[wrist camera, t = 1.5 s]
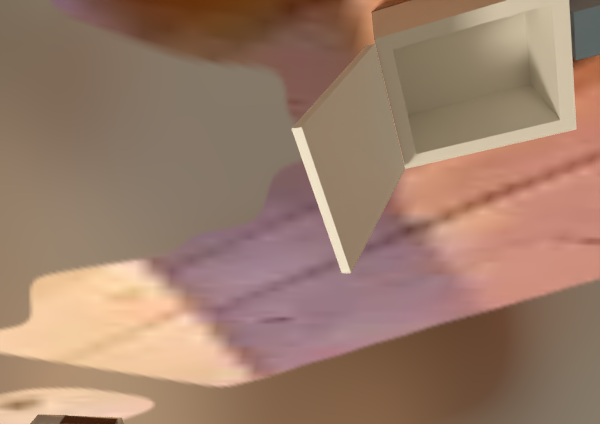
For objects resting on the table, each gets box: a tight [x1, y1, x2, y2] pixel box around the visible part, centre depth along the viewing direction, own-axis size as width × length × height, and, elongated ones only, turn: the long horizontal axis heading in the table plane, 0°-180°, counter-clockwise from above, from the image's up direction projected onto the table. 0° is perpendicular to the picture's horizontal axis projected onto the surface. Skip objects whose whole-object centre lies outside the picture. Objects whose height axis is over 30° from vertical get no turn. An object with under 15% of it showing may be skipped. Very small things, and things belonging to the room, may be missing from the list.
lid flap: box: [292, 44, 405, 273], centre depth 33 cm, size 12×10×1 cm
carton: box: [372, 0, 576, 169], centre depth 40 cm, size 12×10×8 cm
